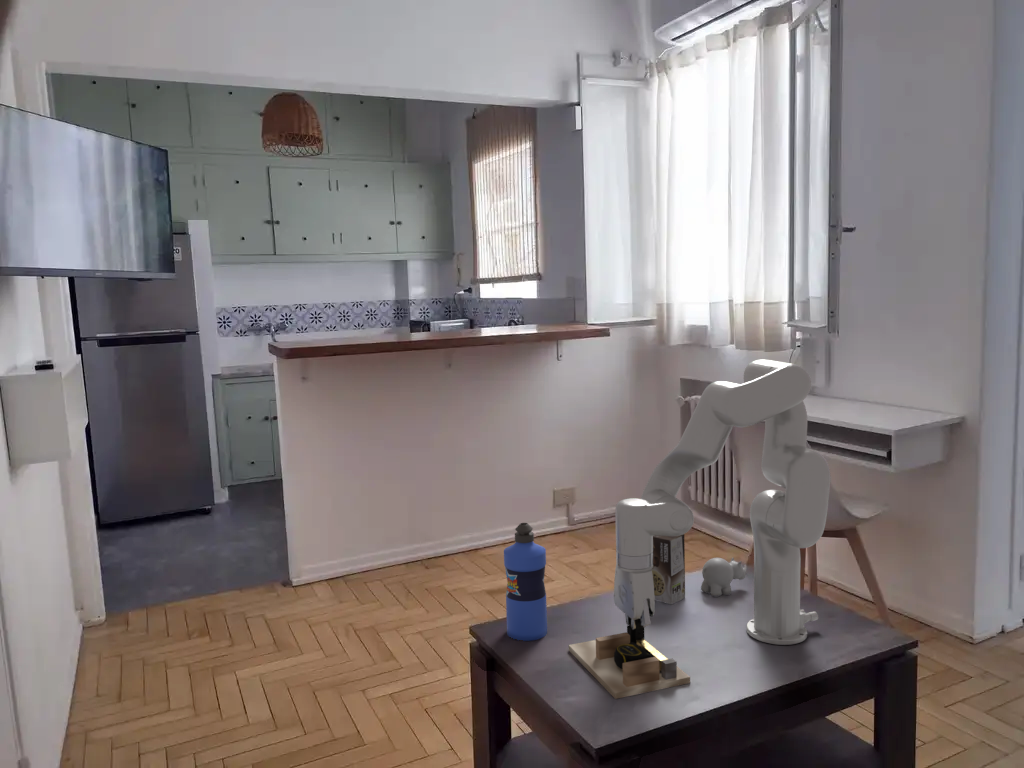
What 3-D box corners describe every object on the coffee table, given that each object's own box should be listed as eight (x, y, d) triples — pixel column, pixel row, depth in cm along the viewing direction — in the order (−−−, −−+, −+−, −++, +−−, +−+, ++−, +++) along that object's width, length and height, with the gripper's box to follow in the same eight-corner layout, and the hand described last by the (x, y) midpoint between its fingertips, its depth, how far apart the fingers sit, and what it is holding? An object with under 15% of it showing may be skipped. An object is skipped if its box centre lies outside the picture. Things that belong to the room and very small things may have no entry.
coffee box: (686, 597, 196) (686, 533, 194) (671, 605, 192) (671, 540, 190) (655, 588, 203) (654, 526, 201) (640, 596, 198) (639, 533, 196)
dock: (636, 637, 175) (635, 614, 174) (690, 682, 154) (690, 657, 153) (568, 650, 170) (568, 626, 169) (615, 699, 149) (614, 672, 148)
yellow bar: (643, 648, 165) (643, 639, 165) (668, 669, 156) (667, 659, 156) (636, 649, 165) (636, 640, 165) (660, 670, 156) (660, 660, 155)
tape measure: (656, 670, 157) (656, 652, 157) (627, 678, 154) (627, 660, 154) (635, 656, 163) (635, 639, 163) (607, 664, 160) (607, 646, 160)
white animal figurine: (756, 592, 198) (756, 557, 197) (713, 600, 194) (713, 565, 193) (737, 582, 205) (737, 549, 204) (696, 590, 201) (696, 556, 200)
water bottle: (535, 620, 185) (532, 515, 183) (555, 635, 177) (552, 525, 174) (499, 629, 181) (495, 522, 178) (518, 644, 173) (514, 532, 170)
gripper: (602, 551, 171) (604, 633, 173) (635, 573, 157) (636, 662, 159) (634, 546, 173) (635, 627, 175) (669, 568, 159) (669, 656, 161)
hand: (635, 644), depth 167 cm, fingers closed
